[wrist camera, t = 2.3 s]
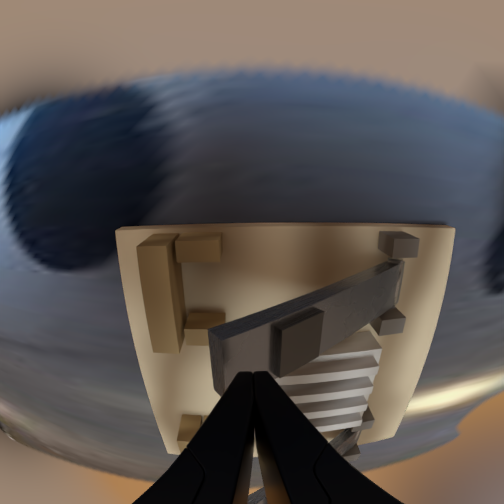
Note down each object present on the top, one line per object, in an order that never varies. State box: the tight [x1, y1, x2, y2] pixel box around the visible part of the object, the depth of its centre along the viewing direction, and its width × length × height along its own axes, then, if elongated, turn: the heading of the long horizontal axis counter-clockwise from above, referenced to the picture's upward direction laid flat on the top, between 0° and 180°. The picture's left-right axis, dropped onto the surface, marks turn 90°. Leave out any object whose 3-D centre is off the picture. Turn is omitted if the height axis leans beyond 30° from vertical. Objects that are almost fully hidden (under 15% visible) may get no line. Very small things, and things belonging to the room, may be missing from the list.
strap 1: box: [208, 257, 405, 396], centre depth 12 cm, size 12×3×1 cm
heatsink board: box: [115, 223, 455, 462], centre depth 16 cm, size 20×19×4 cm
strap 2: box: [247, 428, 362, 504], centre depth 15 cm, size 12×3×1 cm
